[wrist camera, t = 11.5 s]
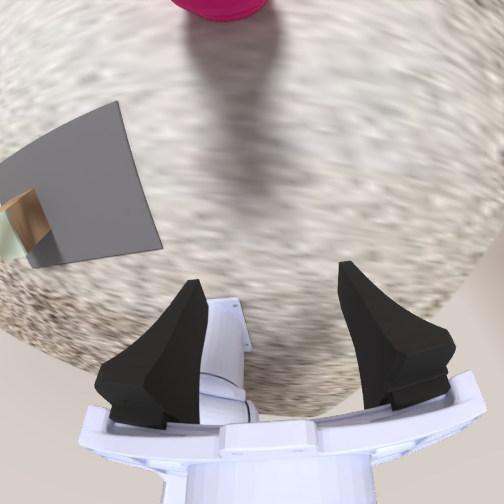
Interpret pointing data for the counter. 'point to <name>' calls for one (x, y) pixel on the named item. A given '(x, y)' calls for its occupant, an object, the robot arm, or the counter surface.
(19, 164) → the mat
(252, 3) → the pepper mill
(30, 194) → the cube
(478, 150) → the counter surface
